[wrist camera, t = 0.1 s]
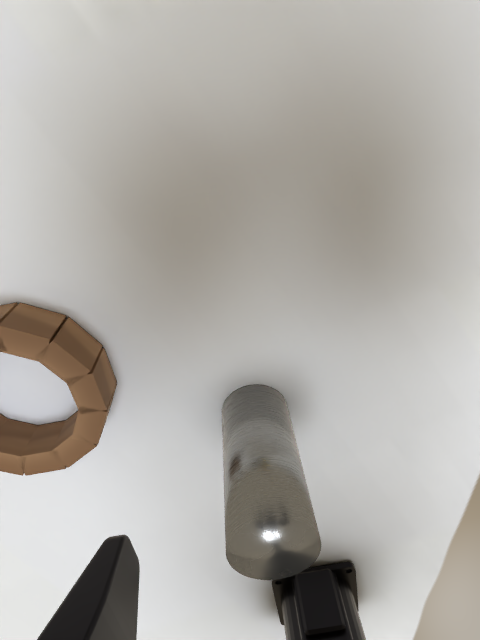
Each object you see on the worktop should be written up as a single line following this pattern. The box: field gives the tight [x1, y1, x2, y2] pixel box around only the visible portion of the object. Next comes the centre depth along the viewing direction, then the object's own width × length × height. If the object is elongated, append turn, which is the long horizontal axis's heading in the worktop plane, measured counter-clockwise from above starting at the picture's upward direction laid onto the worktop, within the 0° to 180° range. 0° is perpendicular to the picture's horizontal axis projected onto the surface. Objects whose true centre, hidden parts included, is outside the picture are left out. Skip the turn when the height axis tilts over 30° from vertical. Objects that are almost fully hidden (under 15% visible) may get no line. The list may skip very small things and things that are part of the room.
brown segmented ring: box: [0, 303, 117, 475], centre depth 23 cm, size 9×9×2 cm
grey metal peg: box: [222, 385, 321, 580], centre depth 22 cm, size 4×4×9 cm
